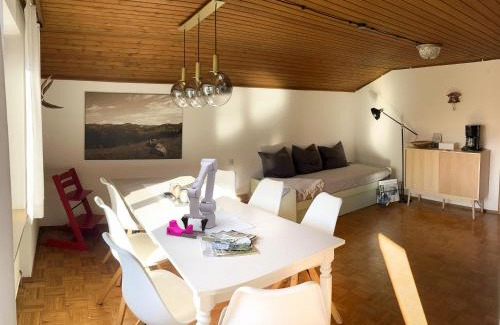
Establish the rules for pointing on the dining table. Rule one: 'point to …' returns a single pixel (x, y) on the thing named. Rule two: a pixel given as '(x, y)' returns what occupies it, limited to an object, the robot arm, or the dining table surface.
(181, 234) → the channel
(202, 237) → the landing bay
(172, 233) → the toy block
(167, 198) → the dining table surface
